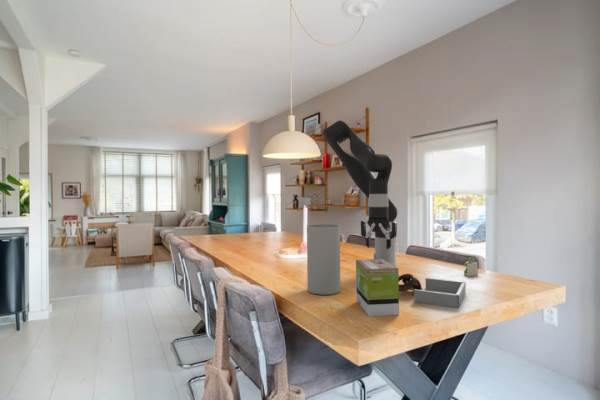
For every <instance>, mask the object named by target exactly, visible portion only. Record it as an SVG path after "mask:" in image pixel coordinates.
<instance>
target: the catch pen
mask: <svg viewBox="0 0 600 400" xmlns="http://www.w3.org/2000/svg"><path fill="white" fill-rule="evenodd" d="M425 289H426V290H424V289H423V290H417V289H415V290H414V291H413V297H414V298H413V301H414V302H415V303H421V304H428V305H436V306H442V307H451V308H457V309H459V308H460V307H461V305H462V302H463V299H464V298H465V295H466V281H460V280H450V279H440V278H431V277H425ZM433 290H435V291H433ZM440 291H441V292H440ZM448 292H451V293H448Z"/></svg>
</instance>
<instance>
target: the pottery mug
mask: <svg viewBox="0 0 600 400" xmlns="http://www.w3.org/2000/svg"><path fill="white" fill-rule="evenodd" d="M400 281H402V284H400V283H399V293H403V292H407V291H409V290H410V291H413V292H414V290H415V289H417V290H424V289H423V287H422V284H421V282H420V280H419V279H418V278H417V277H415V276H413V274H412V273H404V274H400V275H399V282H400Z"/></svg>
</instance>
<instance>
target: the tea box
mask: <svg viewBox="0 0 600 400" xmlns="http://www.w3.org/2000/svg"><path fill="white" fill-rule="evenodd" d="M399 276H400V274H399V267H397V266H396V267H395V266H394V265H392V264H390V263H389V262H387V261H385V260H384V259H374V258H373V259H372V258H371V259H356V260H355V278H356V279H355V280H356V302H357V303H358V304H359V306H360V307H361V309H363V311H364V312H365V314H366V315H367V316H368V317H382V316H383V317H384V316H399V315H400V302H399V301H400V295H399V294H400V292H399V284H400V283H399V282H400V281H399Z"/></svg>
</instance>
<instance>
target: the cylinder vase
mask: <svg viewBox="0 0 600 400" xmlns="http://www.w3.org/2000/svg"><path fill="white" fill-rule="evenodd" d="M306 253H307V254H306V257H307V258H306V261H307V262H306V263H307V268H306V269H307V271H306V272H307V275H306V276H307V277H306V278H307V291H308V292H309V293H310V294H312V293H313V294H312V295H316V294H318V296H330V295H331V296H332V295H335V294H338V293H339V292H340V291H341V225H340V224H327V223H326V224H320V223H319V224H309V225H306Z"/></svg>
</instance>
